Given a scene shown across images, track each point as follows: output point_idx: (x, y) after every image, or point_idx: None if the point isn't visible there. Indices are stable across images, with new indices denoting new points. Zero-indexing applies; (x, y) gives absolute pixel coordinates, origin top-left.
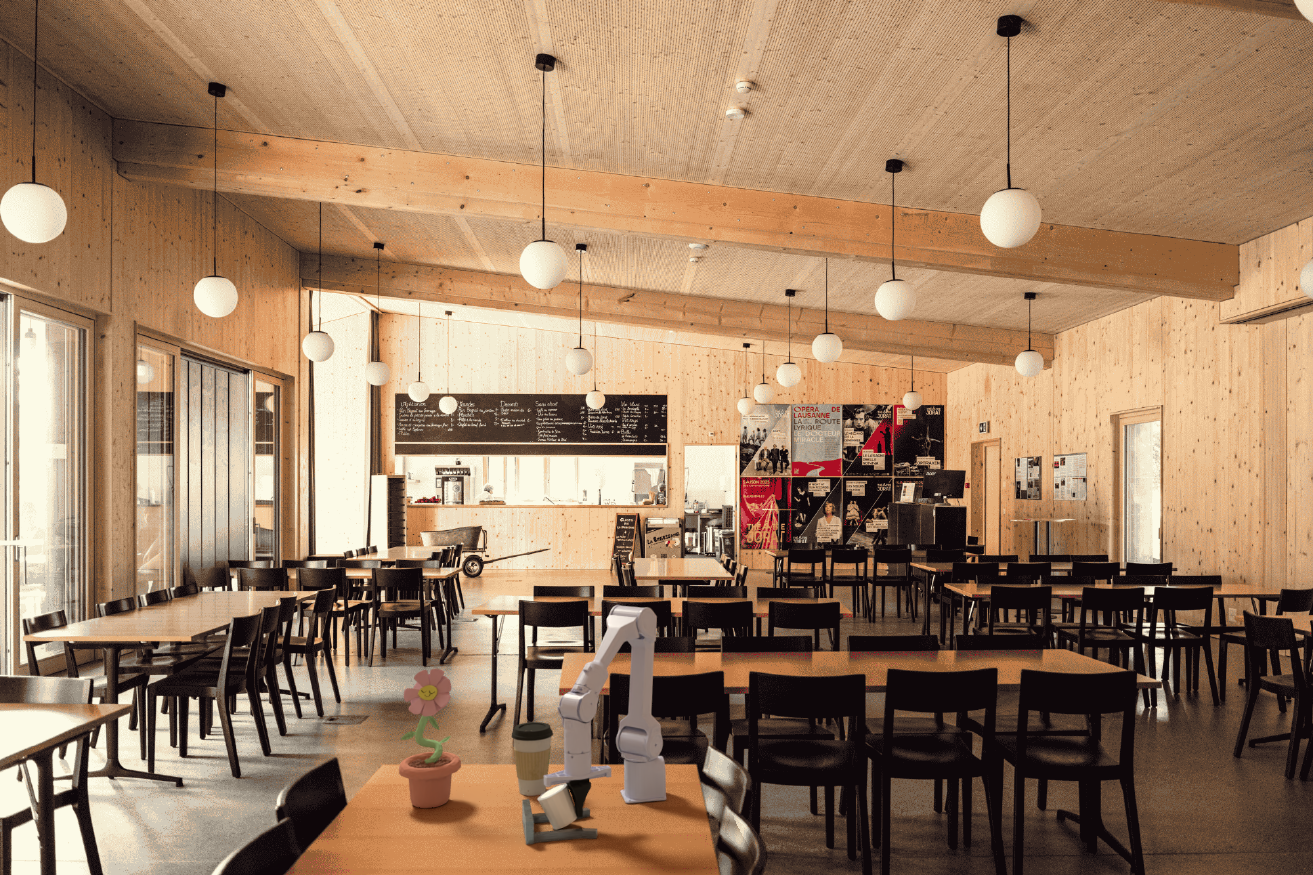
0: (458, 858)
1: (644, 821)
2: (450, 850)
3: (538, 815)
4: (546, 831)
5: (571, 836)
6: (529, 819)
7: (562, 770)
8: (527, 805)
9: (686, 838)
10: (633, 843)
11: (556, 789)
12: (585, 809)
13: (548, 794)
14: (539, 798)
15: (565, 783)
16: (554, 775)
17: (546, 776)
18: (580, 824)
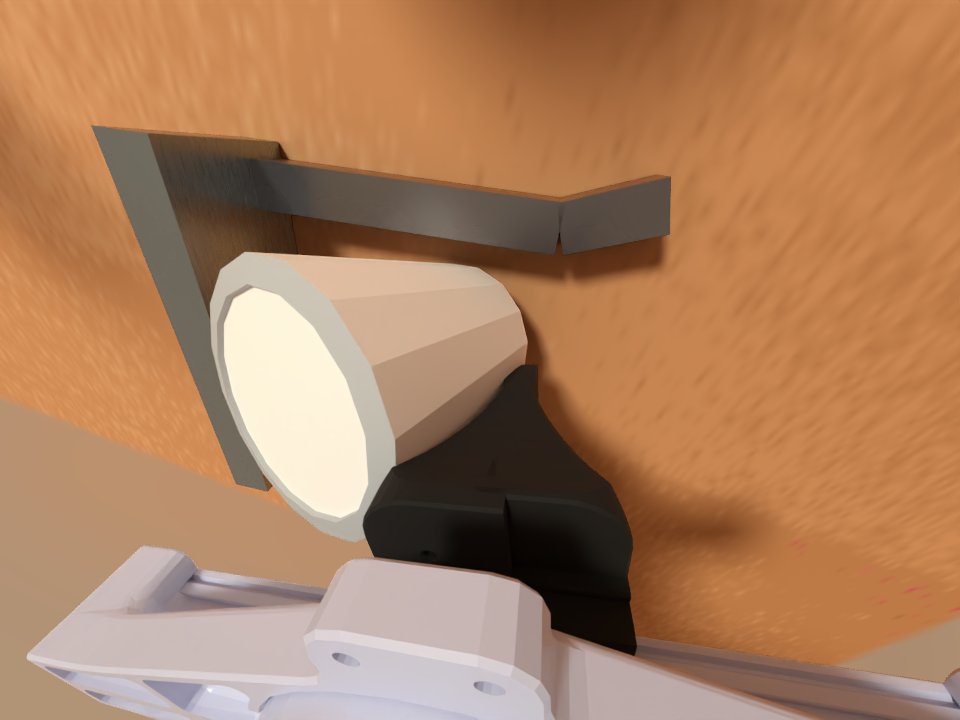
0: (118, 418)
1: (895, 422)
2: (61, 357)
3: (309, 212)
4: None
5: None
6: (245, 472)
7: (221, 679)
8: (181, 286)
9: (873, 602)
10: (662, 553)
11: (314, 422)
12: (638, 219)
13: (268, 412)
14: (221, 377)
15: (388, 434)
16: (163, 703)
17: (82, 685)
18: (549, 322)
